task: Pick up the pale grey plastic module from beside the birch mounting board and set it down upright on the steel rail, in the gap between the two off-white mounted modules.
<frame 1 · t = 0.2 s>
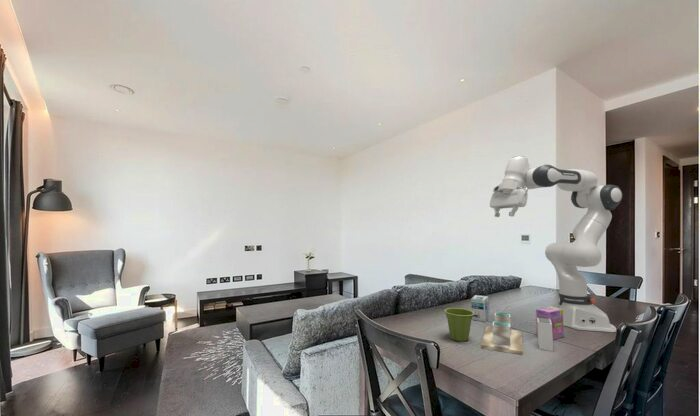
hand: (503, 216, 146), 52 cm above the table, tool tilted 20°, fingers open, 8 cm apart
plant pot: (459, 339, 132), on the table
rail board: (502, 340, 130), on the table
module: (545, 346, 123), on the table
light bulb box: (480, 318, 161), on the table
box: (550, 337, 134), on the table
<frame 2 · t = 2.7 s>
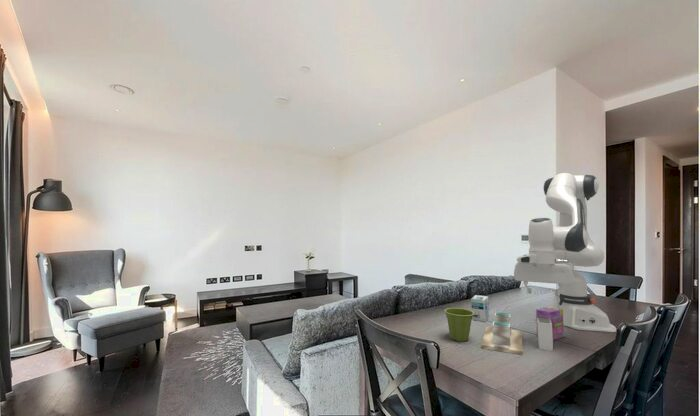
hand: (543, 294, 124), 20 cm above the table, tool pointing down, fingers open, 8 cm apart
nothing on the table moved.
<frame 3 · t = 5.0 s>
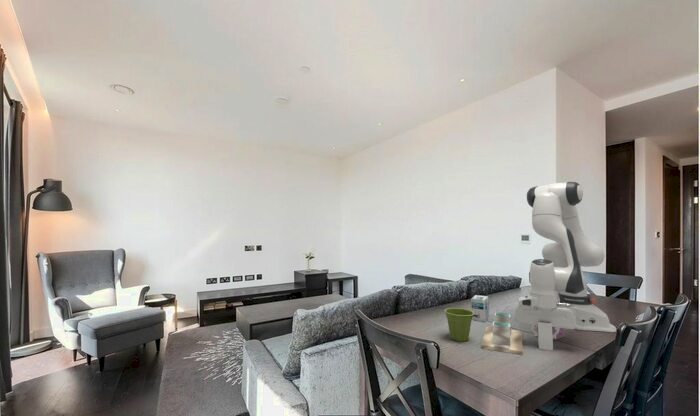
hand: (544, 337, 123), 4 cm above the table, tool pointing down, fingers closed on module, 4 cm apart
module: (545, 346, 123), on the table, touching gripper
everything else where it was.
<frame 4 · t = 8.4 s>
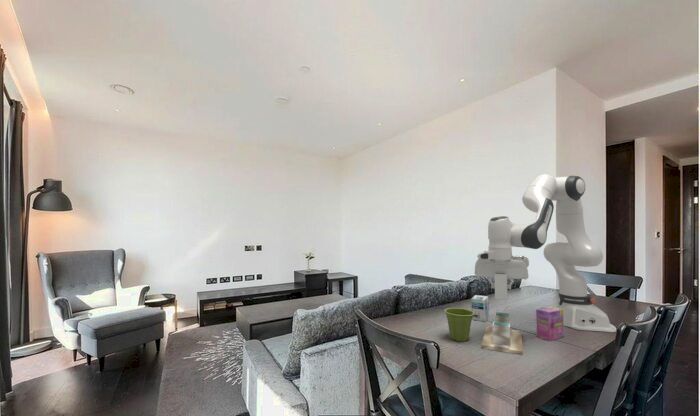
hand: (501, 288, 131), 21 cm above the table, tool pointing down, fingers closed on module, 4 cm apart
module: (501, 297, 131), point 17 cm above the table, touching gripper
everything else where it was.
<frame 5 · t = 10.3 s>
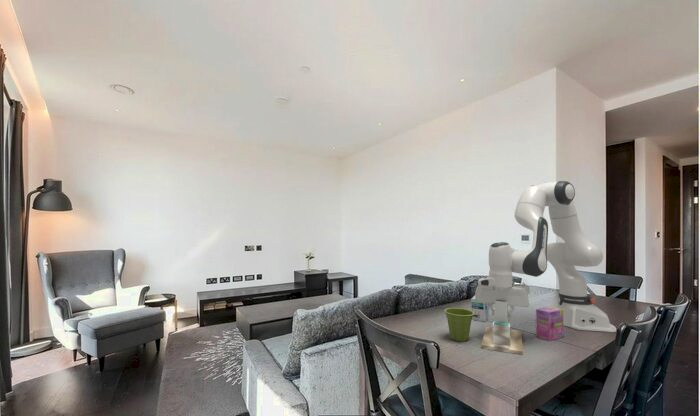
hand: (501, 315, 130), 10 cm above the table, tool pointing down, fingers closed on module, 4 cm apart
module: (501, 324, 130), point 6 cm above the table, touching gripper
everything else where it was.
when the fingers open (7 cm above the table, at t = 11.8 s): module drops 1 cm, resting on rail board.
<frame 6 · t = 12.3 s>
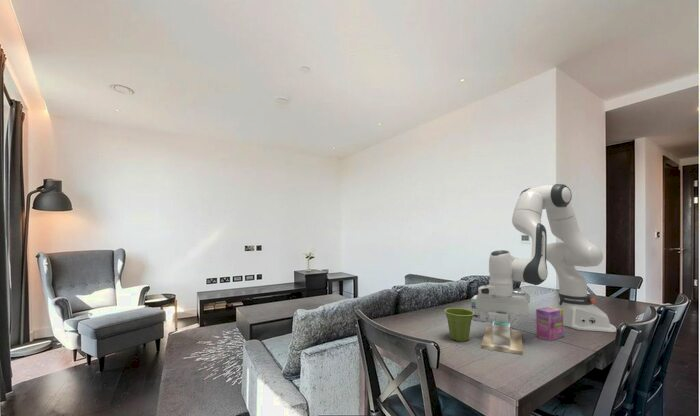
hand: (502, 323, 130), 7 cm above the table, tool pointing down, fingers open, 8 cm apart
module: (502, 336, 130), point 2 cm above the table, touching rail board
everything else where it was.
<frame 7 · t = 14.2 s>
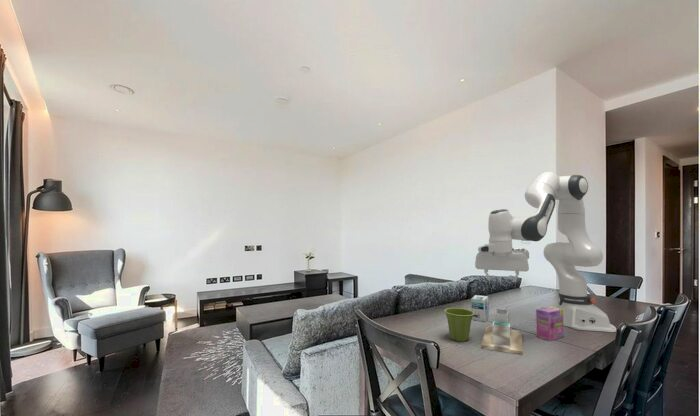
hand: (501, 281, 132), 24 cm above the table, tool pointing down, fingers open, 8 cm apart
nothing on the table moved.
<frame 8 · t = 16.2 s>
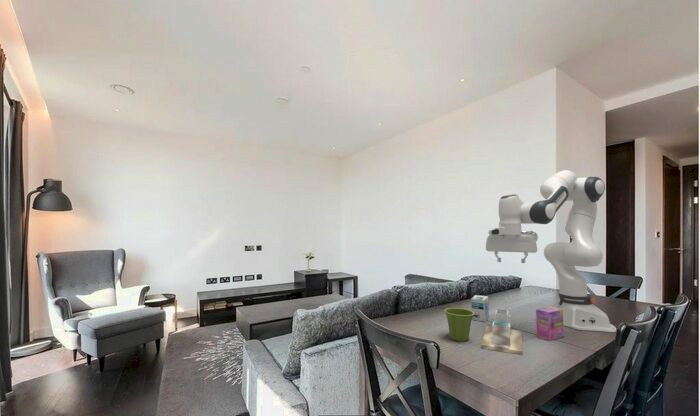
hand: (511, 262, 139), 31 cm above the table, tool pointing down, fingers open, 8 cm apart
nothing on the table moved.
at the end: module 0.1 cm off-centre on the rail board, point 1.6 cm above the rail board's base; module tilted 0°; the gripper is holding nothing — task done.
